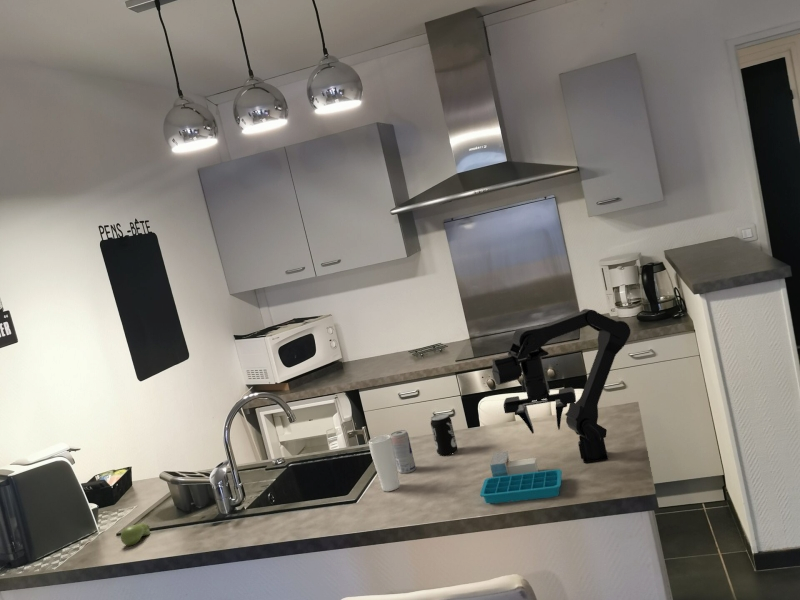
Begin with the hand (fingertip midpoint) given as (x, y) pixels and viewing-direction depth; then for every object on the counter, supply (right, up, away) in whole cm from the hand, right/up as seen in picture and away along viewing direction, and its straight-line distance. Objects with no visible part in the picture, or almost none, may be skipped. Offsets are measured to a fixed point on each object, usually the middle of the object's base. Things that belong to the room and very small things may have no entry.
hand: (546, 431), depth 189 cm
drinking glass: (-41, -20, +16) cm, 48 cm away
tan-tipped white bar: (-7, -13, +3) cm, 15 cm away
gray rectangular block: (-11, -13, +4) cm, 18 cm away
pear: (-117, -36, +21) cm, 124 cm away
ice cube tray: (-7, -14, -8) cm, 18 cm away
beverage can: (-24, -14, +35) cm, 45 cm away
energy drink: (-37, -17, +28) cm, 49 cm away
